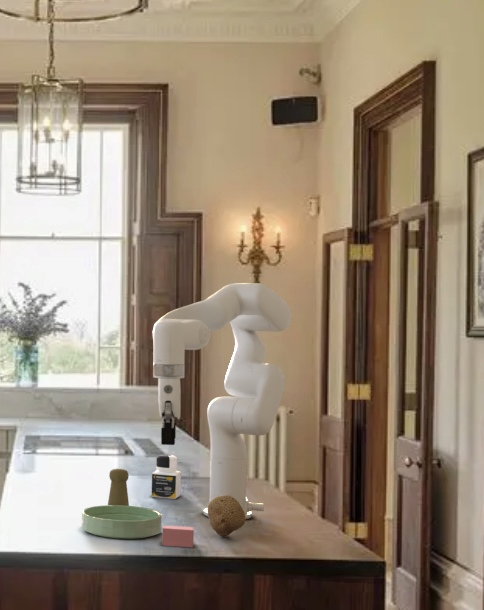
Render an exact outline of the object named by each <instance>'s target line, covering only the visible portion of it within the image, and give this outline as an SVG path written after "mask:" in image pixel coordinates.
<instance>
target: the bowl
mask: <svg viewBox="0 0 484 610" xmlns="http://www.w3.org/2000/svg"><path fill="white" fill-rule="evenodd" d="M162 515H163V514H162V513H161V512H160V511H158V510H155V509H151V508H148V507H143V506H137V505H136V506H134V505H129V506H123V505H108V504H107V505H95V506H94V505H93V506H89V507H86V508H84V509H82V512H81V528H82V530H83V531H85V532H86V533H89V534H92V535H95V536H98V537H101V538H102V537H103V538H110V539H117V540H118V539H119V540H135V539H136V540H137V539H146V538H150V537H153V536H156V535H159V534H160V533H162V519H163V518H162Z"/></svg>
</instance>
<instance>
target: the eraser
mask: <svg viewBox="0 0 484 610" xmlns="http://www.w3.org/2000/svg"><path fill="white" fill-rule="evenodd" d="M194 532H195V528H194V526H179V525H178V526H177V525H176V526H175V525H163V526H162V538H161V539H162V541H161V543H162V544H161V545H162V546H166V547H179V548H180V547H181V548H194V534H195V533H194Z"/></svg>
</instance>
